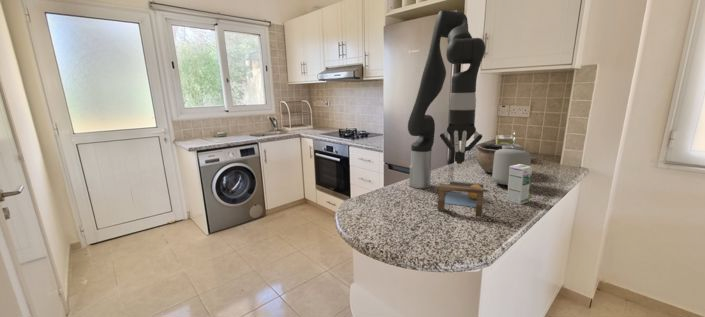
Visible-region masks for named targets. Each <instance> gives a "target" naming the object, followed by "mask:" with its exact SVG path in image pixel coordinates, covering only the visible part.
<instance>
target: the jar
mask: <svg viewBox="0 0 705 317" xmlns="http://www.w3.org/2000/svg"><path fill="white" fill-rule="evenodd" d="M513 135H516V134H515V130H513ZM513 137H514V136H513ZM511 138H512V137H511ZM514 139H515V140H516V137H514ZM514 139H513V140H514ZM520 146H521V145H520ZM520 146H502V149H499V150H497V151H496V152H495V154H494V164H493V173H491V174H492V175H491V179H492V181H493V182H494V183H496V184H499V185H506V186H508V181H509V168H510V166H513V165H518V164H522V165H528V166H531V160H532V154H531V152H529V151H527V150H525V146H522V147H520Z"/></svg>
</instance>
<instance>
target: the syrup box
mask: <svg viewBox="0 0 705 317" xmlns="http://www.w3.org/2000/svg"><path fill="white" fill-rule="evenodd" d="M532 174H533V166H531V165H530V166H528V165H522V164H518V165H513V166H510V168H509V181H508V185H507V195H506V196H507V197H506V198H507V199H506V200H507V201H508V202H510V203H514V204H517V205H522V204H525V203H529V202H530V200H531V199H530V197H531V196H530V195H531V186H532V177H533V176H532Z"/></svg>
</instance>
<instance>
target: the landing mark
mask: <svg viewBox="0 0 705 317" xmlns="http://www.w3.org/2000/svg"><path fill="white" fill-rule="evenodd" d="M476 200H477V199H472V198H471V197H470V196H469V195H468V193H463V192H462V193H461V192H454V191H447V192H446V193H445V205H455V206H463V207H468V208H469V207H470V208H476Z"/></svg>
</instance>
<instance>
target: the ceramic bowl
mask: <svg viewBox="0 0 705 317" xmlns="http://www.w3.org/2000/svg"><path fill="white" fill-rule="evenodd" d="M502 146H520V147H523V146H521V145H520V144H517V143H515V144H512V145H510V143H503V142H501V143H500V144H499V145H496V143H494V142H492V141H487V142H485V141H484V142H481V143H479V144H478V143H477V144H476V148H477V151H476V155H475V156H476V157H475V158H476V161H477V163H478V165H479V167H481V169H483V171H485V172H487V173H489V174H490V173H491V174H493V164H494V154H495V152H496V151H497V150H499V149H502Z"/></svg>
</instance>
